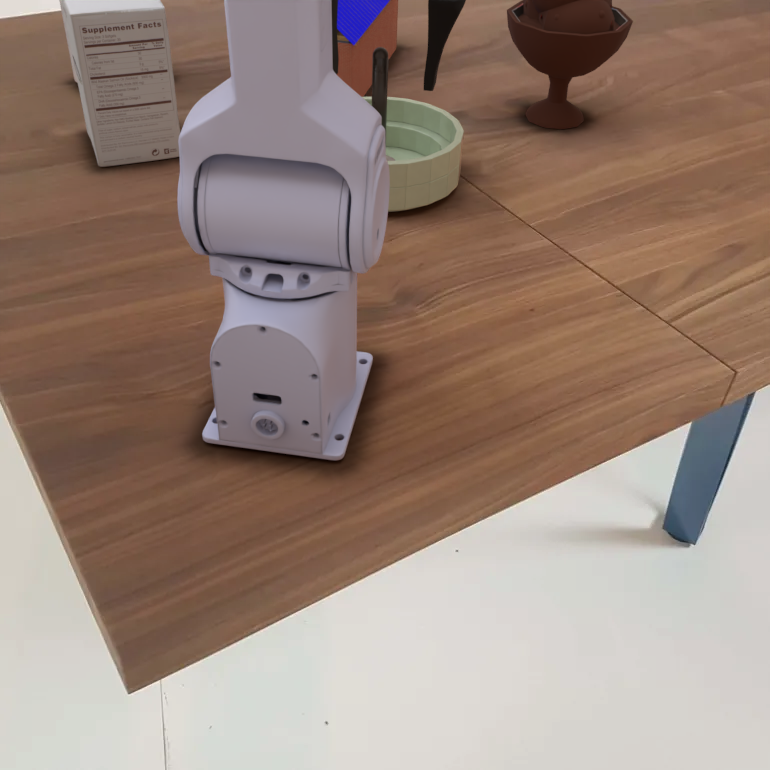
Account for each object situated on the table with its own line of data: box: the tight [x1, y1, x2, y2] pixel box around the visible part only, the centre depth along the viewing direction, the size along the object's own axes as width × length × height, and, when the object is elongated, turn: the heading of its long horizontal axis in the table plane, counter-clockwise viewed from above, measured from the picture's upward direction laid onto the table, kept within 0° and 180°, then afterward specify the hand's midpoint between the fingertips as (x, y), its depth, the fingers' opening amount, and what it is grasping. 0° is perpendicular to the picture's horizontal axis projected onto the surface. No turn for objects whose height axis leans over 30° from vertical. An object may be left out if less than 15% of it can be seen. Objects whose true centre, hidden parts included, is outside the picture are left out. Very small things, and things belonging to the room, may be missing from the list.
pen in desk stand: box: [371, 47, 396, 161], centre depth 72 cm, size 3×3×11 cm
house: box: [337, 0, 399, 97], centre depth 91 cm, size 12×20×12 cm, turn 167°
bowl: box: [362, 96, 465, 213], centre depth 75 cm, size 13×13×4 cm
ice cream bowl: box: [506, 0, 634, 130], centre depth 83 cm, size 11×11×15 cm
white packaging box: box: [62, 0, 181, 168], centre depth 76 cm, size 7×7×13 cm
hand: (380, 81), depth 70 cm, fingers open, 7 cm apart
